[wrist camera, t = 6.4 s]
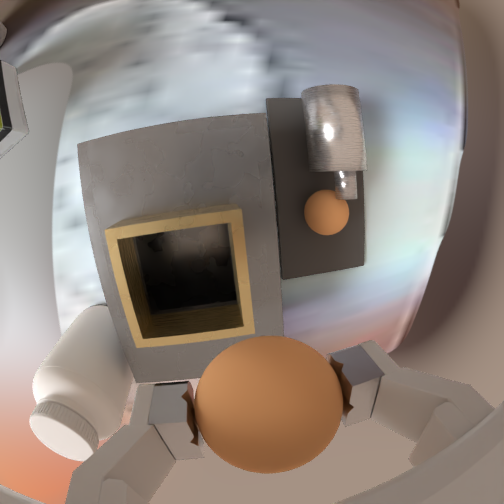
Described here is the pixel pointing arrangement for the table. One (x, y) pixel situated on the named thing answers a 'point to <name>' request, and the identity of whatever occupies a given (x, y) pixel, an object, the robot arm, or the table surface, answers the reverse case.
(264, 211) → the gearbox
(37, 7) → the table surface
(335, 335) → the table surface
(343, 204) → the bead
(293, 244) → the mat
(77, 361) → the pill bottle
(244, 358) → the bead
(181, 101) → the table surface
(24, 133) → the tea box
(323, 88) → the spout can
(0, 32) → the house plant
